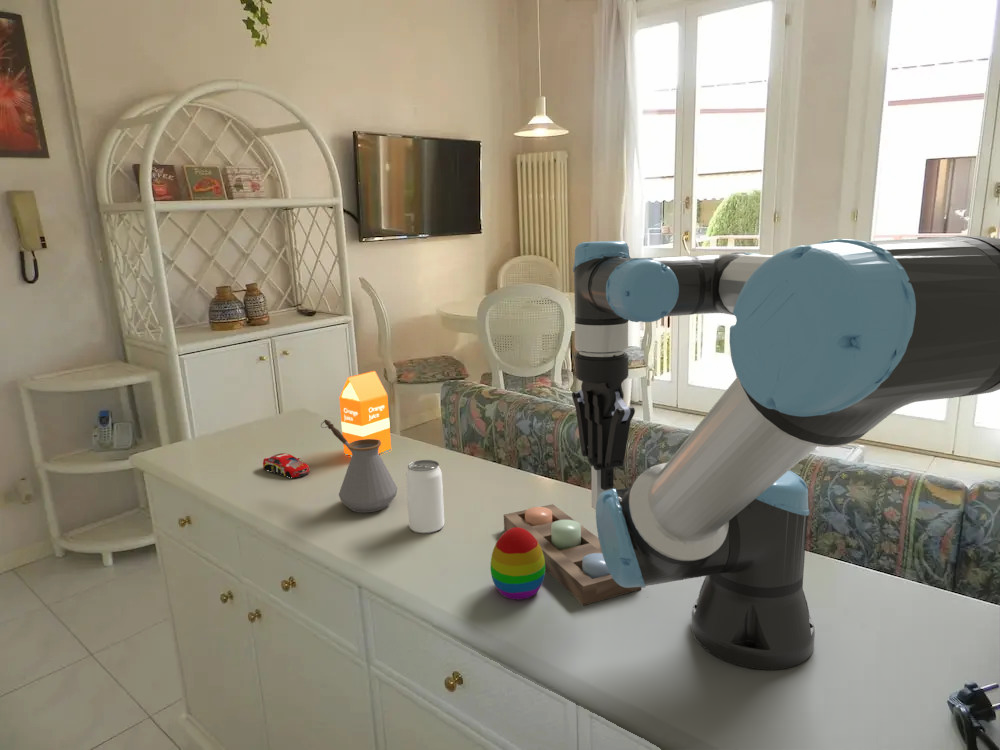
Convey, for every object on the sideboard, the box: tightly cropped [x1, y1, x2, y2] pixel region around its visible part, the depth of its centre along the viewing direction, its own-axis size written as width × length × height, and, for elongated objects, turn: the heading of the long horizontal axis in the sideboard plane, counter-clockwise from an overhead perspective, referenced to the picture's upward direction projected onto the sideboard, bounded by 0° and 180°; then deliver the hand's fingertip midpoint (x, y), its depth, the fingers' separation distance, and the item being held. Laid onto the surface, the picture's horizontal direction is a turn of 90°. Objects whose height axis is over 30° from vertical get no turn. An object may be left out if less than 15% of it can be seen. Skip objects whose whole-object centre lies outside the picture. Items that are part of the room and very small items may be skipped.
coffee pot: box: [320, 419, 398, 513], centre depth 139 cm, size 21×12×15 cm, turn 43°
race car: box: [262, 452, 310, 479], centre depth 157 cm, size 13×5×4 cm, turn 51°
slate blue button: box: [582, 553, 610, 579], centre depth 103 cm, size 5×5×4 cm
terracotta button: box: [525, 506, 552, 527], centre depth 121 cm, size 5×5×4 cm
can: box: [405, 459, 445, 534], centre depth 125 cm, size 6×6×12 cm
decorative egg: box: [490, 527, 546, 600], centre depth 102 cm, size 8×8×10 cm
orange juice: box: [339, 370, 392, 455], centre depth 167 cm, size 8×9×20 cm
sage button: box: [551, 519, 582, 551], centre depth 112 cm, size 5×5×4 cm
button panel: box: [503, 503, 643, 606], centre depth 112 cm, size 28×10×3 cm, turn 24°
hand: (602, 506), depth 102 cm, fingers closed
